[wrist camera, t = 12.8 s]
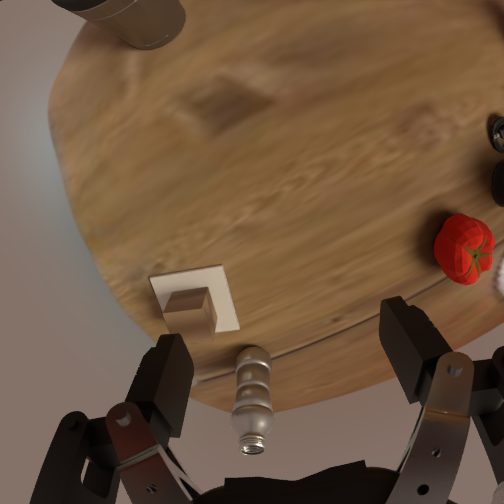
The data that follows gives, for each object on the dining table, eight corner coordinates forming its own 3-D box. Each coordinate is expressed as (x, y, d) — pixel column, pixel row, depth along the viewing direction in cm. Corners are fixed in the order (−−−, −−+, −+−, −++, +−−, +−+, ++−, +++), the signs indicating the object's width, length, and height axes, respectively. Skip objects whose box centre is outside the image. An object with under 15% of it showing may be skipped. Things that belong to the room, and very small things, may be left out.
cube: (172, 291, 44) (162, 313, 39) (208, 286, 44) (201, 308, 38) (183, 321, 47) (175, 344, 41) (217, 317, 46) (213, 341, 41)
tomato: (443, 279, 44) (469, 305, 36) (416, 236, 41) (445, 259, 32) (479, 241, 41) (508, 261, 32) (456, 193, 38) (490, 209, 29)
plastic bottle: (278, 350, 50) (286, 445, 31) (259, 371, 52) (260, 462, 34) (247, 336, 48) (243, 435, 30) (229, 360, 51) (220, 453, 32)
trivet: (150, 276, 44) (149, 278, 43) (222, 264, 43) (222, 266, 42) (174, 334, 49) (173, 336, 48) (239, 327, 48) (239, 329, 47)
